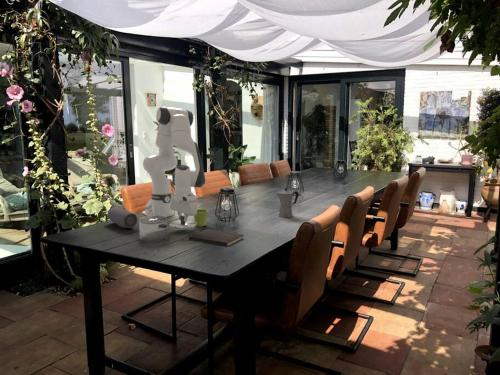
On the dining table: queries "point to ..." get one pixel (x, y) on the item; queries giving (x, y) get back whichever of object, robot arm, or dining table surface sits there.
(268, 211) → the dining table surface
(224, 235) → the hardcover book
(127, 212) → the bluetooth speaker
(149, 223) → the cooker
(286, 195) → the coffeepot
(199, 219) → the plant pot
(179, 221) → the lid
